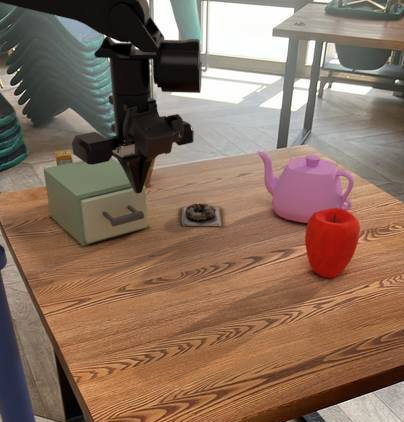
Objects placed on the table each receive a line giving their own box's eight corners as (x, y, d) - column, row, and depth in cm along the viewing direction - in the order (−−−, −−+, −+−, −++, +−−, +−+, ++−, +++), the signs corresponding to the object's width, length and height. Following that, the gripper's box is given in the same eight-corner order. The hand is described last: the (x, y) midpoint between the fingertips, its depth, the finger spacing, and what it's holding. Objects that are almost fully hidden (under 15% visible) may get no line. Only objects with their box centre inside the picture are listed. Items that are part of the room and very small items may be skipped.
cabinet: (147, 228, 110) (145, 179, 104) (82, 246, 104) (76, 195, 98) (111, 201, 120) (108, 155, 113) (50, 216, 113) (43, 168, 107)
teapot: (352, 207, 120) (363, 150, 112) (344, 235, 110) (356, 175, 102) (259, 193, 124) (264, 138, 117) (243, 219, 114) (248, 160, 107)
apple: (306, 255, 103) (315, 198, 96) (355, 264, 101) (367, 207, 94) (294, 278, 97) (303, 219, 90) (345, 289, 95) (358, 229, 88)
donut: (182, 207, 118) (181, 198, 116) (219, 208, 118) (220, 198, 117) (181, 226, 111) (181, 216, 110) (221, 226, 111) (221, 216, 110)
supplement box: (60, 198, 120) (54, 150, 114) (77, 196, 121) (71, 149, 115) (62, 205, 118) (55, 156, 111) (79, 203, 118) (73, 154, 112)
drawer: (160, 236, 106) (159, 196, 101) (99, 254, 100) (95, 212, 95) (114, 201, 117) (111, 163, 112) (57, 215, 112) (51, 176, 107)
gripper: (99, 114, 75) (110, 224, 85) (215, 94, 83) (212, 196, 93) (63, 95, 82) (77, 199, 92) (173, 77, 90) (175, 174, 100)
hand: (138, 192), depth 94 cm, fingers closed
